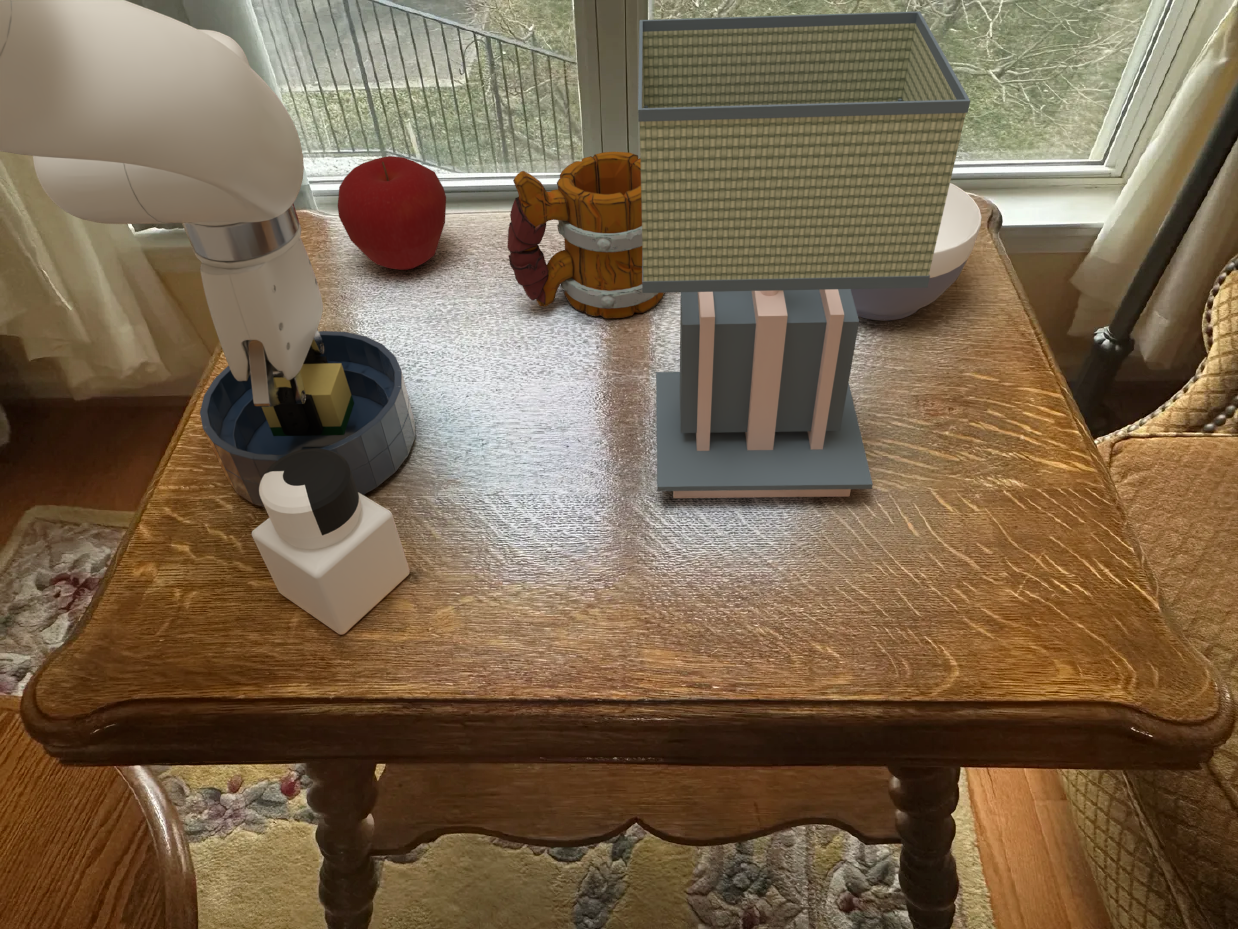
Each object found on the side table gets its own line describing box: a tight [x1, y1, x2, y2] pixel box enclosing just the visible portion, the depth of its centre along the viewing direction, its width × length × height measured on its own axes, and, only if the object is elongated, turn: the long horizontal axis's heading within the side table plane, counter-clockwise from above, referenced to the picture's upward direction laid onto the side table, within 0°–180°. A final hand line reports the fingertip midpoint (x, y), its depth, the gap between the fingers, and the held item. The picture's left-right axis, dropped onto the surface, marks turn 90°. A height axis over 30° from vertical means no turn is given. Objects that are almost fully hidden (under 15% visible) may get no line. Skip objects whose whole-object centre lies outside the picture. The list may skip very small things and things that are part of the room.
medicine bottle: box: [251, 448, 411, 636], centre depth 67 cm, size 7×7×12 cm
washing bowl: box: [199, 330, 416, 508], centre depth 80 cm, size 16×16×6 cm
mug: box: [507, 151, 665, 319], centre depth 91 cm, size 11×16×15 cm, turn 113°
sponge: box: [262, 363, 354, 436], centre depth 78 cm, size 6×4×4 cm, turn 89°
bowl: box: [851, 182, 982, 322], centre depth 92 cm, size 16×16×10 cm
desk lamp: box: [637, 10, 971, 499], centre depth 68 cm, size 18×14×33 cm
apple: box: [337, 155, 447, 271], centre depth 98 cm, size 11×11×12 cm
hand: (311, 411), depth 79 cm, fingers closed on sponge, 4 cm apart
